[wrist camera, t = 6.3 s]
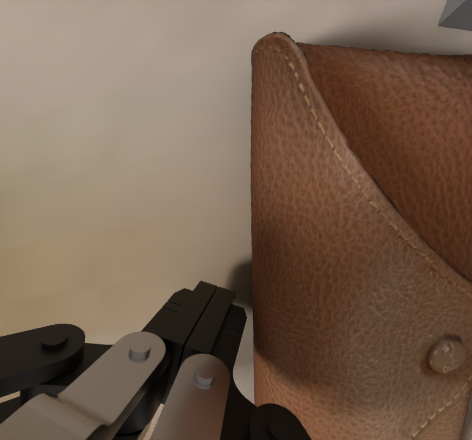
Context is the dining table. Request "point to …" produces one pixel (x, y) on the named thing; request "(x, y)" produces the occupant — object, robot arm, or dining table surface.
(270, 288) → the sunglasses case
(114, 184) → the dining table surface
